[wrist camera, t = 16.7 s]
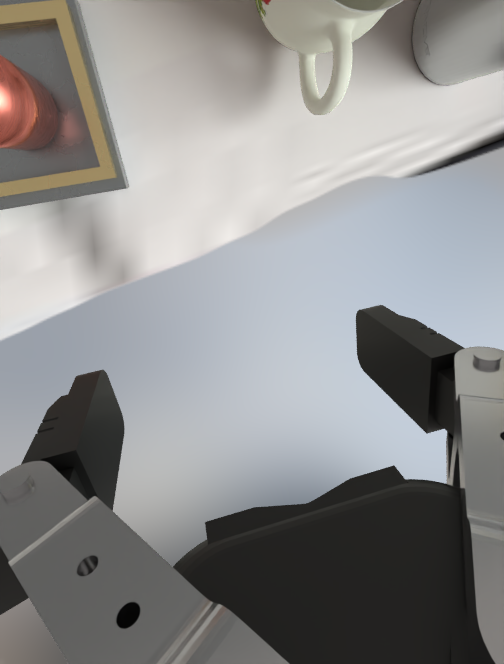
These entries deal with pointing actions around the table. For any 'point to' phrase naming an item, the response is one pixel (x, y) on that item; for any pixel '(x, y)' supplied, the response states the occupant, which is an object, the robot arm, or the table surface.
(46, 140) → the spout can
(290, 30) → the pitcher
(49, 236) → the table surface
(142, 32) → the table surface
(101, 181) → the grey tray
